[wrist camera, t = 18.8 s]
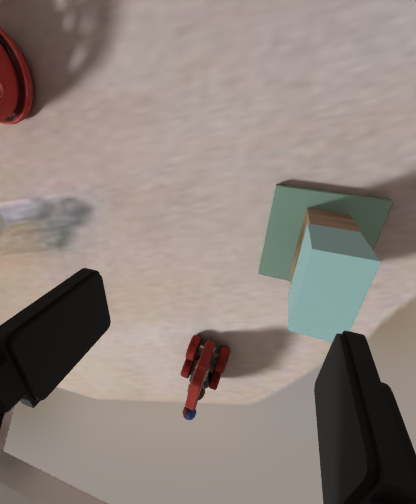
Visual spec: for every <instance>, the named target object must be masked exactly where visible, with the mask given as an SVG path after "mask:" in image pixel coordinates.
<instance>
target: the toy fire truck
mask: <svg viewBox="0 0 416 504" xmlns="http://www.w3.org/2000/svg"><path fill="white" fill-rule="evenodd" d="M201 341H202V338H201V337H199V336H196V335H194V336H193V337H192V339H191V341H190V344H189V346H188V349H187V353H186V360H185V363H184V365H183V368H182V371H181V376H183V377H185V378H188V377H189V376H190V374H191V376H190V384H189V386H188V396H187V400H186V404H185V407H184V410H183V415H184V418H185V419H187V420H192V419H193V418H194V417H195V415H196V409H195V408H196V405H197V402H198V400H200V399H201V398H203V396H204V394H205V389H206V388H207V387H209V388H211V389H214V390H216V389H217V386H218V383H219V380H220V377H221V373H223V372H224V369H225V366H226V363H227V360H228V356H229V353H230V349H229V348H226V347H222V348H221V351H220V354H217V353H213V350H214V347H215V342H212V341H209V340H207V341H206V343H205V346H204V348H201V347H200V344H201ZM197 353H200V354H201V357H200V359H199V360H198V361H196V356H197ZM211 357H212V358H213V359H215V360H217V364H216V365H215V367H214V370H213V372H211V371H209V368H210V360H211ZM208 385H209V386H208Z"/></svg>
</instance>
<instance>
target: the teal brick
mask: <svg viewBox="0 0 416 504" xmlns="http://www.w3.org/2000/svg"><path fill="white" fill-rule="evenodd" d="M380 263H381V261H380V259H379V258H378V256H377V255H376V254H375V252H374V251H373V249H372V248H371V247H370V245H369V244H368V242H367V241H366V240H365V238H364V237H363V235H362V234H361V233H360V232H357V231H351V230H345V229H339V228H332V227H326V226H320V225H314V224H307V228H306V231H305V235H304V239H303V242H302V246H301V250H300V253H299V257H298V261H297V264H296V268H295V272H294V275H293V279H292V283H291V286H290V290H289V306H288V331H292V332H295V333H299V334H303V335H307V336H311V337H314V338H318V339H322V340H326V341H329V342H333V340H334V338H335V336H336V334H337V333H339V334H342V332H343V331H349V332H350V330H351V327H352V325H353V323H354V321H355V319H356V316H357V314H358V312H359V310H360V307H361V305H362V303H363V301H364V299H365V296H366V294H367V292H368V290H369V288H370V285H371V283H372V281H373V279H374V276H375V274H376V272H377V270H378V268H379V265H380Z"/></svg>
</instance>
